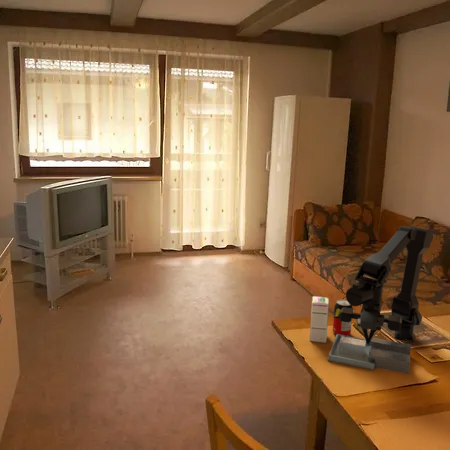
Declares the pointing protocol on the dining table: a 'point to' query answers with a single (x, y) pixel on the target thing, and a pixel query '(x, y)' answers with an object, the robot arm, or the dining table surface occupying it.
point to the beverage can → (340, 326)
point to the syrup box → (319, 319)
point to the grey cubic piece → (358, 348)
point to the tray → (350, 359)
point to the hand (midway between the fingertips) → (367, 343)
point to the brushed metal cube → (345, 345)
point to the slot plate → (390, 355)
